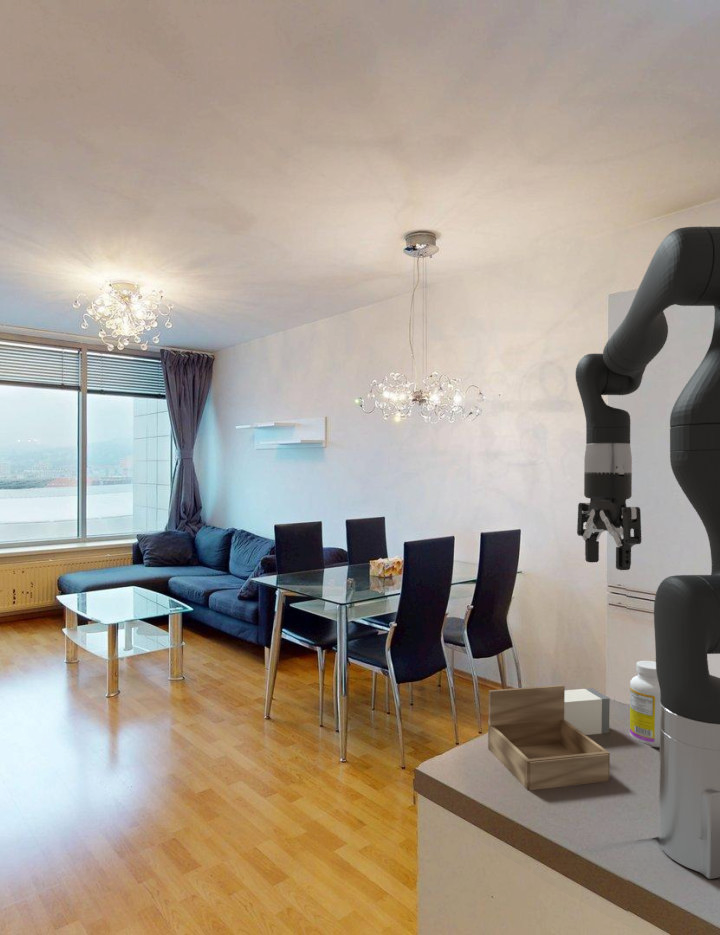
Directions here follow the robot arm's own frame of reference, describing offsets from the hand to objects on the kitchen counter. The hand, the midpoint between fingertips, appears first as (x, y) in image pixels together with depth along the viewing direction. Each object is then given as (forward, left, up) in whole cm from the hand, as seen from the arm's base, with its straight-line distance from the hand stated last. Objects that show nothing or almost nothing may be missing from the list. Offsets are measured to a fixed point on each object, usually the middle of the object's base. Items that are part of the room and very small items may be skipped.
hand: (607, 565), depth 106 cm
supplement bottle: (-2, -7, -30) cm, 31 cm away
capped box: (+3, +4, -30) cm, 30 cm away
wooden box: (-7, +15, -29) cm, 34 cm away
